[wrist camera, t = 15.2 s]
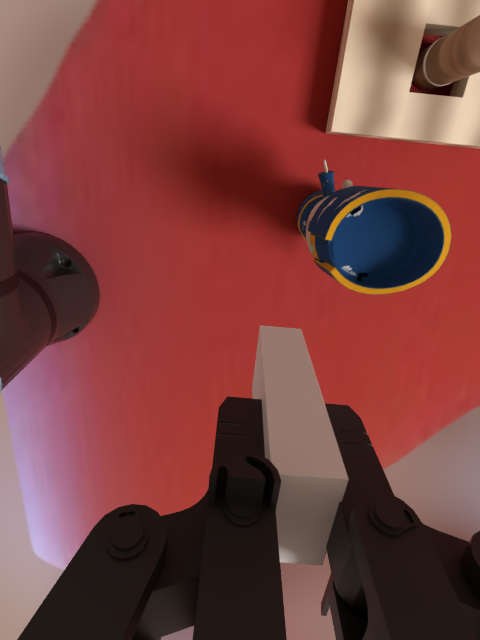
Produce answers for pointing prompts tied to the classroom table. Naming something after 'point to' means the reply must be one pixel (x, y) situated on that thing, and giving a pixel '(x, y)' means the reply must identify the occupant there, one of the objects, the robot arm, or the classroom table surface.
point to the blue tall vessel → (374, 235)
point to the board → (401, 75)
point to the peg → (449, 57)
